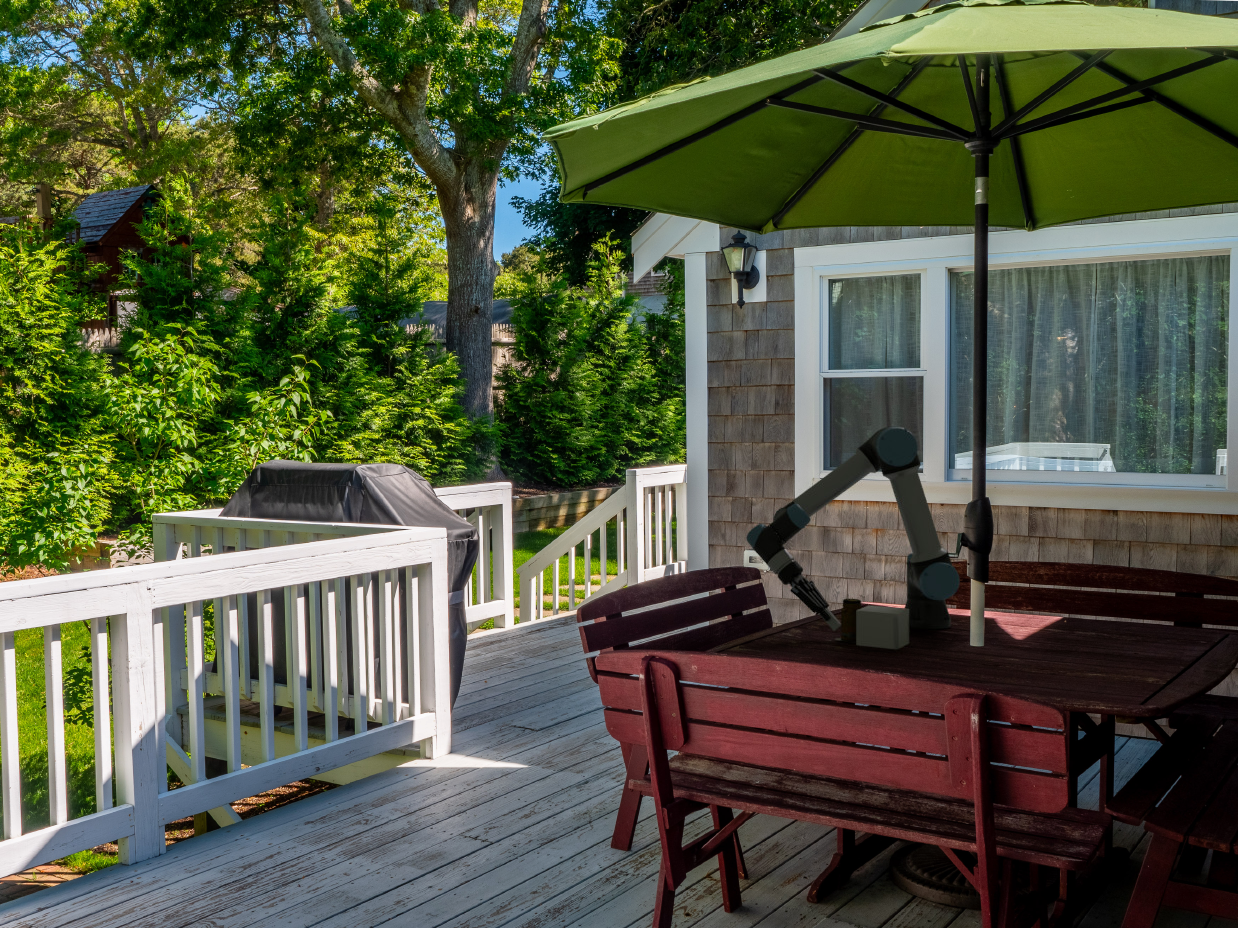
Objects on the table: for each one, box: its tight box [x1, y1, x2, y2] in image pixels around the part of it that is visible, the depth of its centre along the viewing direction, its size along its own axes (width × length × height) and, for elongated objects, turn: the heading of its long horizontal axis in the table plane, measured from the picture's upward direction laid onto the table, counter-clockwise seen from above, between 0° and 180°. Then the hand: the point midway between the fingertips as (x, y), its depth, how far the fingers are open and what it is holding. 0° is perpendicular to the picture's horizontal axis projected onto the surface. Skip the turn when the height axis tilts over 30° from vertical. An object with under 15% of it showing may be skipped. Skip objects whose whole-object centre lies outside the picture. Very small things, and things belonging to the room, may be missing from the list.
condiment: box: [834, 598, 862, 644], centre depth 307 cm, size 7×8×12 cm
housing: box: [855, 605, 910, 650], centre depth 302 cm, size 12×10×10 cm
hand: (837, 627), depth 310 cm, fingers closed
